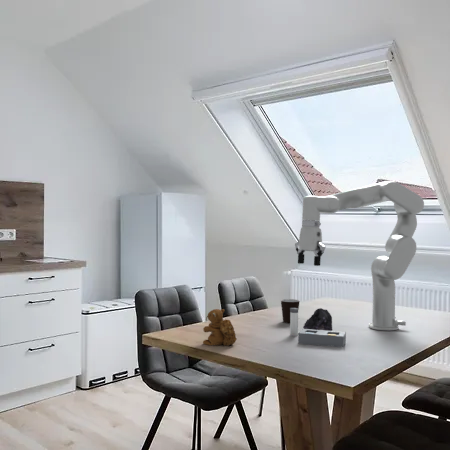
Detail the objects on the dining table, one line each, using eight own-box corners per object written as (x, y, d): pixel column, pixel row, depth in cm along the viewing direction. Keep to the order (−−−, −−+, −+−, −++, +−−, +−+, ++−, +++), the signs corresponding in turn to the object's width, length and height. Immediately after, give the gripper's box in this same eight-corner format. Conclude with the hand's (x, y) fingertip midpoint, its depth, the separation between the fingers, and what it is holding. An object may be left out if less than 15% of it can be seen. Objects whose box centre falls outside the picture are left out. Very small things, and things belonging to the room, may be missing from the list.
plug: (298, 334, 226) (299, 308, 226) (297, 336, 223) (297, 309, 223) (291, 334, 227) (291, 307, 227) (289, 335, 224) (289, 308, 224)
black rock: (309, 336, 227) (312, 313, 226) (296, 327, 240) (299, 304, 239) (338, 337, 230) (341, 314, 229) (324, 327, 243) (327, 306, 242)
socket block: (345, 342, 213) (345, 331, 213) (343, 347, 205) (343, 336, 205) (302, 338, 219) (302, 328, 219) (298, 343, 211) (298, 332, 211)
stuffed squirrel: (215, 339, 217) (215, 306, 217) (243, 344, 209) (244, 310, 208) (198, 343, 210) (198, 309, 209) (227, 349, 201) (227, 313, 201)
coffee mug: (293, 324, 247) (293, 302, 247) (277, 322, 252) (277, 300, 252) (305, 320, 256) (306, 299, 256) (289, 318, 261) (290, 297, 261)
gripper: (331, 225, 230) (329, 266, 230) (302, 224, 244) (301, 262, 244) (319, 225, 225) (317, 266, 226) (290, 223, 239) (288, 262, 240)
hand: (308, 264), depth 235 cm, fingers open, 9 cm apart
